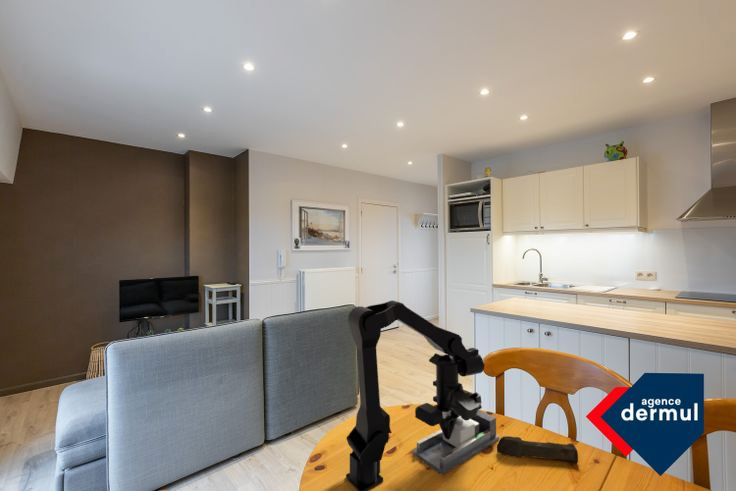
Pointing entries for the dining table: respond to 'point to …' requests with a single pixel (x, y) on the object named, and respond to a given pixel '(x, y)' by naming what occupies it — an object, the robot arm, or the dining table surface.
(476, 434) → the white flat block
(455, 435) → the knobbed white cube
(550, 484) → the dining table surface
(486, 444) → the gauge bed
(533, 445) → the hand tool
